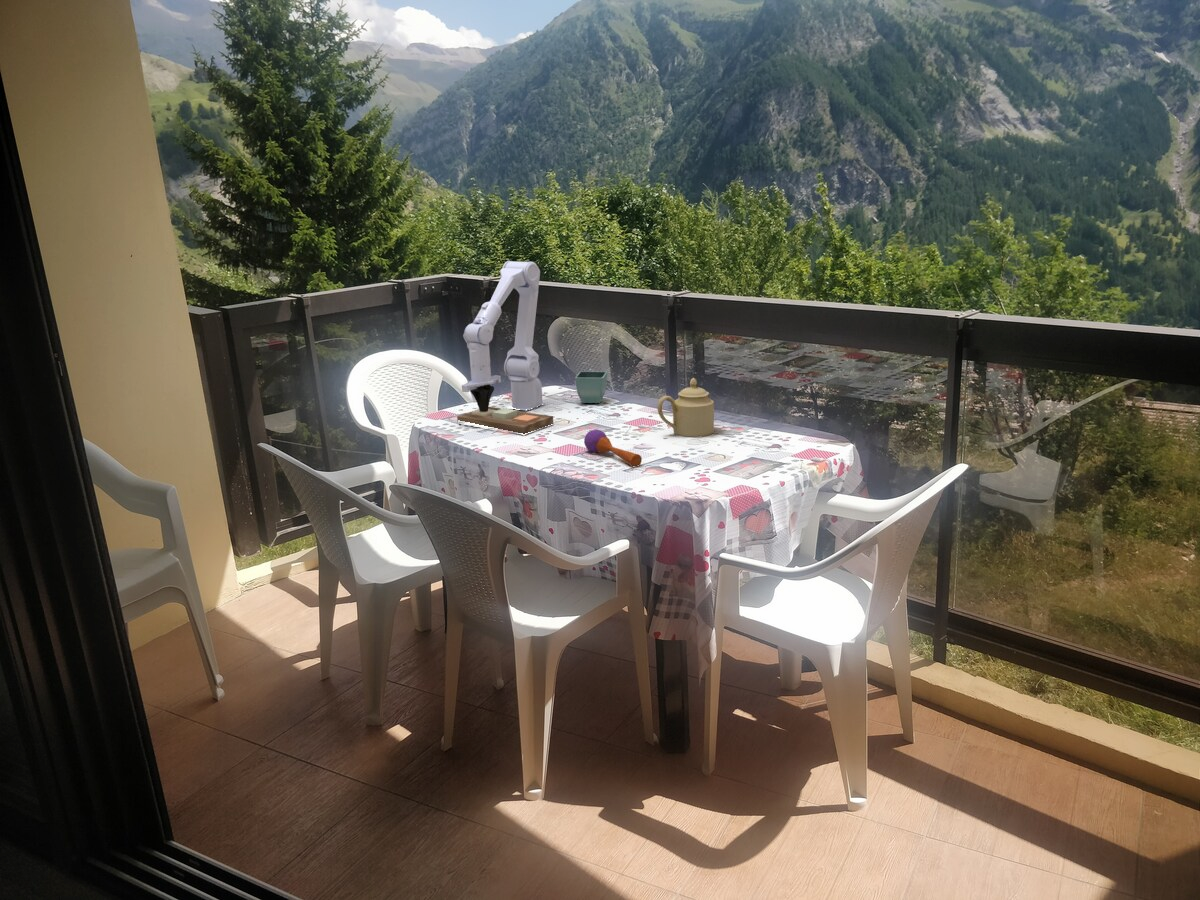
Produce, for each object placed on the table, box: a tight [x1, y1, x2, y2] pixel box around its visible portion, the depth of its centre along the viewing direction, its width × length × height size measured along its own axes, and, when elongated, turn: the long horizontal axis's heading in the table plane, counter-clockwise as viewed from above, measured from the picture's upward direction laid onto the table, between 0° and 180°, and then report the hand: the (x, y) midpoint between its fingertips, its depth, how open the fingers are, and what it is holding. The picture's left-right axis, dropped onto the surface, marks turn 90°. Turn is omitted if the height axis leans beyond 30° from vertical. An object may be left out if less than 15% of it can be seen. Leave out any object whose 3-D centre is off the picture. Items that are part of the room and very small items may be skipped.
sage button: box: [492, 407, 518, 420], centre depth 273 cm, size 5×5×2 cm
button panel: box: [456, 406, 554, 434], centre depth 273 cm, size 13×25×2 cm, turn 54°
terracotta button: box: [514, 415, 539, 423], centre depth 269 cm, size 5×5×2 cm
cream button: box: [471, 409, 496, 416], centre depth 278 cm, size 5×5×2 cm
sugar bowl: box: [656, 377, 715, 438], centre depth 256 cm, size 15×11×15 cm
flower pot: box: [574, 370, 608, 404], centre depth 294 cm, size 9×9×9 cm
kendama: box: [583, 429, 642, 468], centre depth 239 cm, size 6×6×20 cm
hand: (483, 411), depth 277 cm, fingers closed, pressing on cream button
